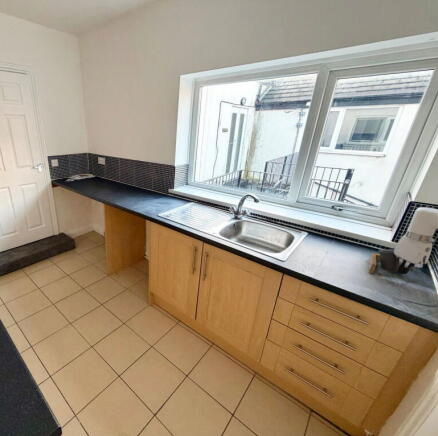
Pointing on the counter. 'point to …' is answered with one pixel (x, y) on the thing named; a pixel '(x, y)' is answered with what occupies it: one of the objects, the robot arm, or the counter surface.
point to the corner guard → (375, 262)
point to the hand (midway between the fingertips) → (401, 273)
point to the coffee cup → (388, 260)
